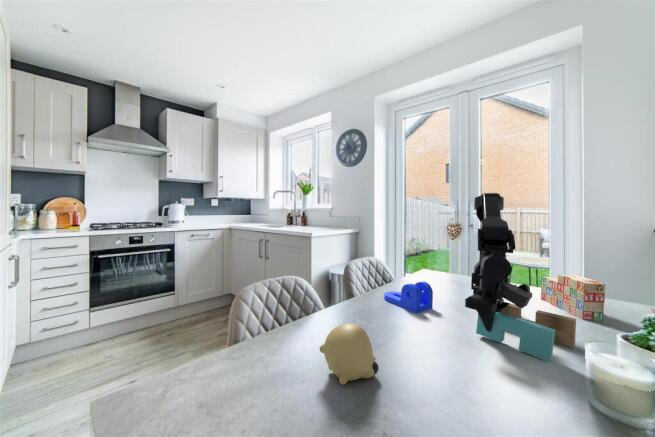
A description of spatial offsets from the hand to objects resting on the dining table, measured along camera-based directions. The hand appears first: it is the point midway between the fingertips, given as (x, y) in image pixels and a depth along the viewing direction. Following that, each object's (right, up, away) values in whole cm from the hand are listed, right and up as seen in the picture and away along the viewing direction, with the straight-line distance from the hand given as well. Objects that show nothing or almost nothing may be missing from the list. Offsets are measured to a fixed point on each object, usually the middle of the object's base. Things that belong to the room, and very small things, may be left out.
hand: (490, 329), depth 74 cm
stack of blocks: (+43, -3, +26) cm, 50 cm away
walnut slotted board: (+13, -3, +5) cm, 14 cm away
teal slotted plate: (+3, -2, -4) cm, 5 cm away
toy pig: (-39, -3, -17) cm, 43 cm away
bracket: (-15, -2, +29) cm, 33 cm away
